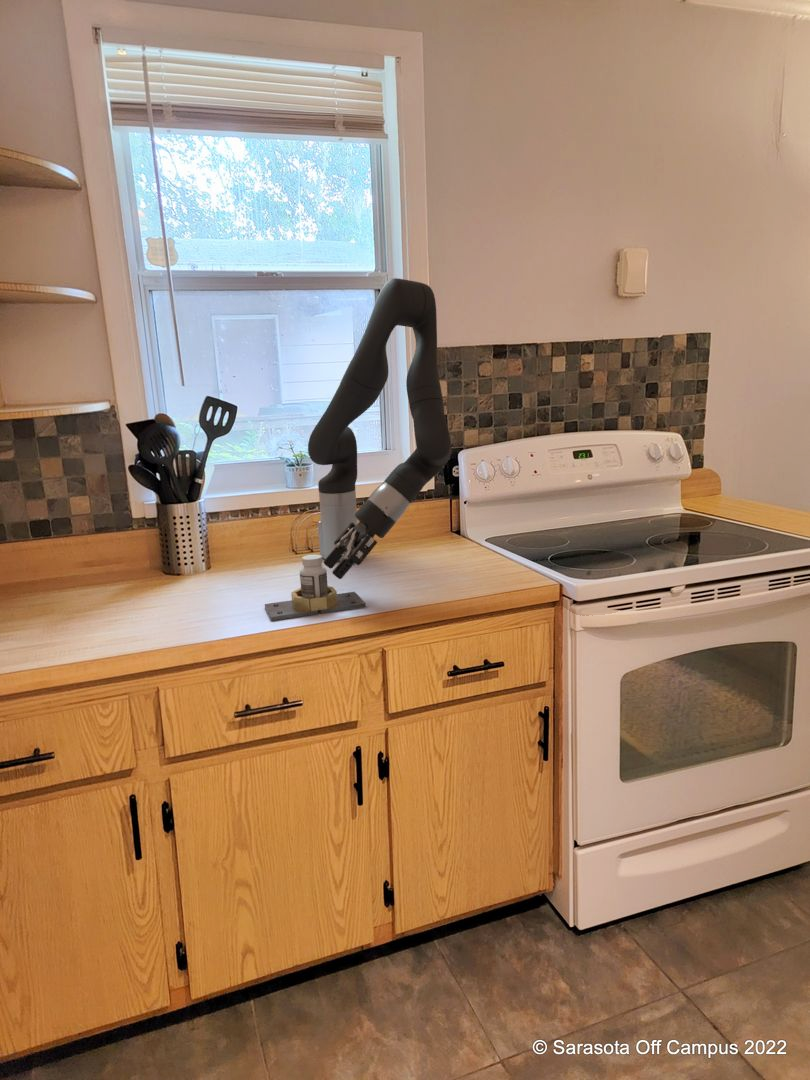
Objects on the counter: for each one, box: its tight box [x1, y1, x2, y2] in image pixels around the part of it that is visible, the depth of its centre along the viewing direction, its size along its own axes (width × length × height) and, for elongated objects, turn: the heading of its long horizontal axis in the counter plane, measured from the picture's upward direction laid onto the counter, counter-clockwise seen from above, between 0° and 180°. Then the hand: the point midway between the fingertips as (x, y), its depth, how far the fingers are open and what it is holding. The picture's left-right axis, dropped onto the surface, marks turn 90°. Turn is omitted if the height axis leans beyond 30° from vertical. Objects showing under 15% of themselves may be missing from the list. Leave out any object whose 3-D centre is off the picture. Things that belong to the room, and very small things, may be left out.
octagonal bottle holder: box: [264, 585, 367, 622], centre depth 146 cm, size 19×9×3 cm, turn 109°
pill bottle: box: [299, 554, 329, 598], centre depth 146 cm, size 5×5×10 cm
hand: (331, 571), depth 146 cm, fingers open, 8 cm apart
